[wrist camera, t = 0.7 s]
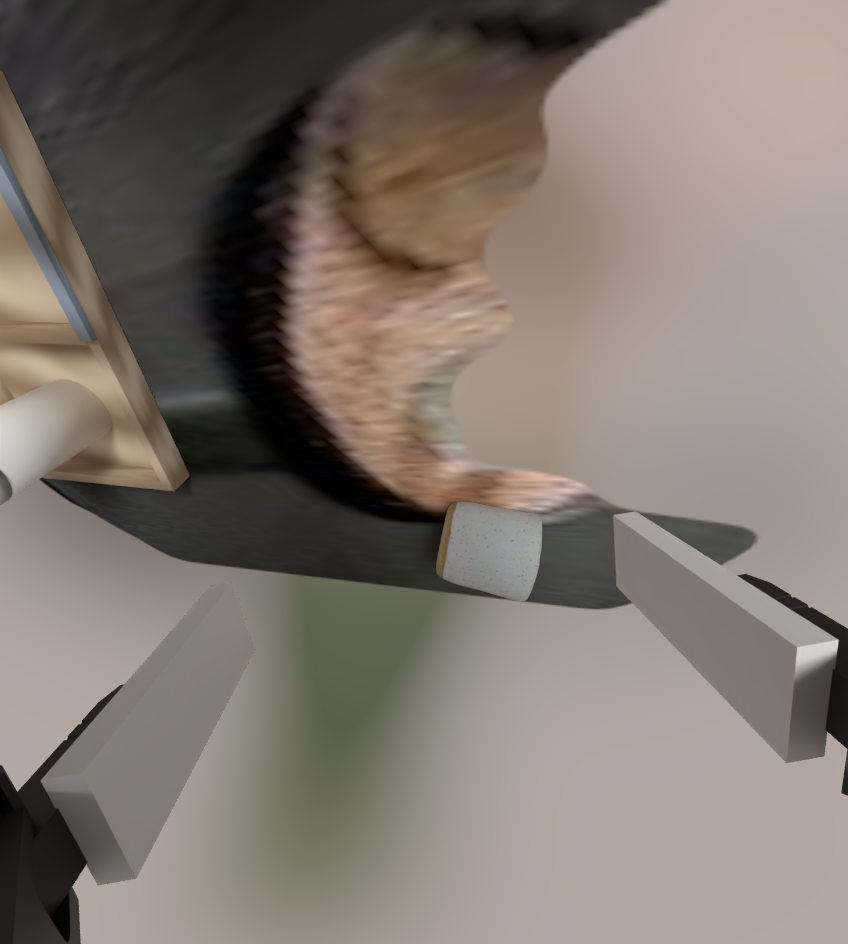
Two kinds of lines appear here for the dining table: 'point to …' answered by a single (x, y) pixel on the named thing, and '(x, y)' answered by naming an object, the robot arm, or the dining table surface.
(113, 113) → the dining table surface
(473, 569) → the ceramic mug
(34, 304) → the bay tray
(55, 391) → the domed white canister
